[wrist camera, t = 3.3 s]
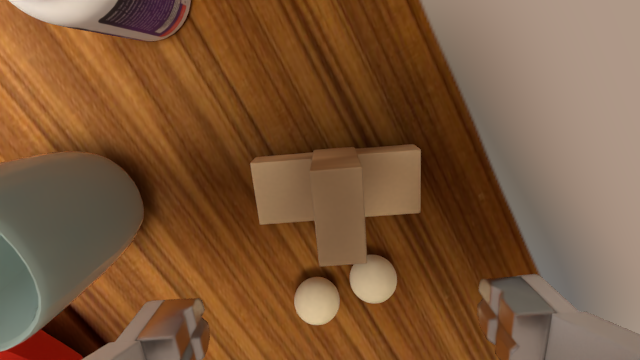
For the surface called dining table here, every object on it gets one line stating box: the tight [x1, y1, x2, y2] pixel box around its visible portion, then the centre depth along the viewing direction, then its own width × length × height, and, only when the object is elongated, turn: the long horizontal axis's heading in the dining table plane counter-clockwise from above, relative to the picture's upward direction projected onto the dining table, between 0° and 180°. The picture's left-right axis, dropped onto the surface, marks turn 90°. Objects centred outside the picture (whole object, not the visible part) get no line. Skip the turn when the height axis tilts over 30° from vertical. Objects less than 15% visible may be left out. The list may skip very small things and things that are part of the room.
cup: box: [0, 151, 144, 352], centre depth 18 cm, size 8×8×10 cm
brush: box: [250, 144, 421, 266], centre depth 19 cm, size 10×5×7 cm, turn 95°
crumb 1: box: [294, 277, 340, 325], centre depth 23 cm, size 3×3×3 cm
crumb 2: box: [350, 255, 397, 303], centre depth 22 cm, size 3×3×3 cm
